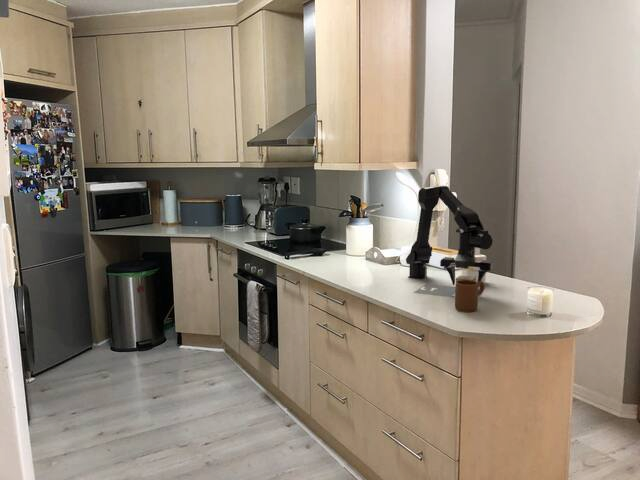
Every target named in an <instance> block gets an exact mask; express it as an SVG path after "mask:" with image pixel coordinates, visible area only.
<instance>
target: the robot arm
mask: <svg viewBox="0 0 640 480" xmlns="http://www.w3.org/2000/svg"><path fill="white" fill-rule="evenodd" d="M417 196H418V197H417V201H418V205H419V206H420V211H419V213H420V214H419V221H418V228H417V233H416V240H415V241H414V243H413V244H412V245H411V249H410V252H409V254H408V255H407V257H406V258H405V263H406V264H407V265H409V274H408V275H409V276H407V278H408V279H415V280H417V279H418V280H423V279H425V278H426V277H428V267H427V264H429V263H430V259H431V257H432V256H433V255H432V253H433V246H431V244H430V242H429V241H430V233H431V227H432V219H433V212H434V209H435V208H436V206H437V205H438V203H439V201H440V200H441V201H442V203H443V204H445V206H446V207H447V208H448V209H449V211H450V212H451V213H452V214H453V216H454V217H453V219H454V222H455V223H456V224H457V226H458V228H457V229H456V230H455V233H458V234H459V235H458V237H459V239H458V241H459V242H458V245H459V246H458V251H457V255H456V256H455V257H451V256H449V257H447V256H445V257H443V258H441V259H440V261H439V266H440V267H442V268H443V269H444V270H446V271H447V273H448V274H449V277H450V279H451V283H452V286H456V269H459V268H460V269H462V268H464V269H467V268H468V267H469V266H470V267H479V268H480V270H479V271H478V273H479V275H478V281H482V279H483V276H484V275H485V273H486V274H487V273H488V272H490V271H492V270H493V269H494V262H493V260H487V259H486V260H482V261H481V262H475V247H476V248H480V250H489V249H490V248H491V247H492V245H493V237H492V235H490V234H489V230H486V229H484V225H483V224H482V221H481V219H480V218H479V217H480V216H479V215H478V213H477V211H474V210H473V209H471V208H469V207H467V206H465V205H464V204H463V203H462V201H460V200H459V198H458V197H457V196H456V195H455V194H454V193H453V192H452V190H451V189H450V188H449V186H447V185H437V186H433V187H429V186H428V187H421V188H420V189H419V191H418V195H417ZM479 288H480V286H478V289H479Z"/></svg>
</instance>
